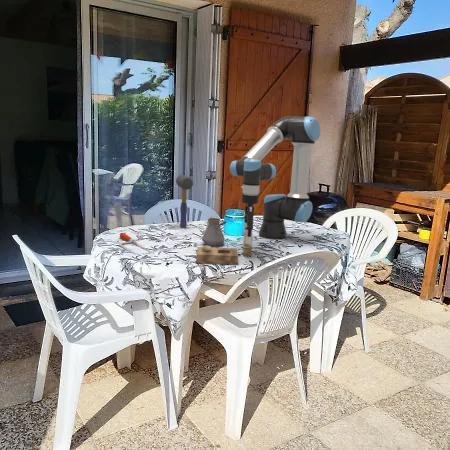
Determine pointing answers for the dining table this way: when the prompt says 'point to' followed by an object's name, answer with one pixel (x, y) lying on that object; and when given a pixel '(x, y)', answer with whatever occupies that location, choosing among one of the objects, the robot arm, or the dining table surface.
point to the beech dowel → (246, 247)
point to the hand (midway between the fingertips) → (247, 239)
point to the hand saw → (129, 240)
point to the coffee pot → (213, 233)
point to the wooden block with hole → (217, 255)
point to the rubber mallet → (184, 196)
